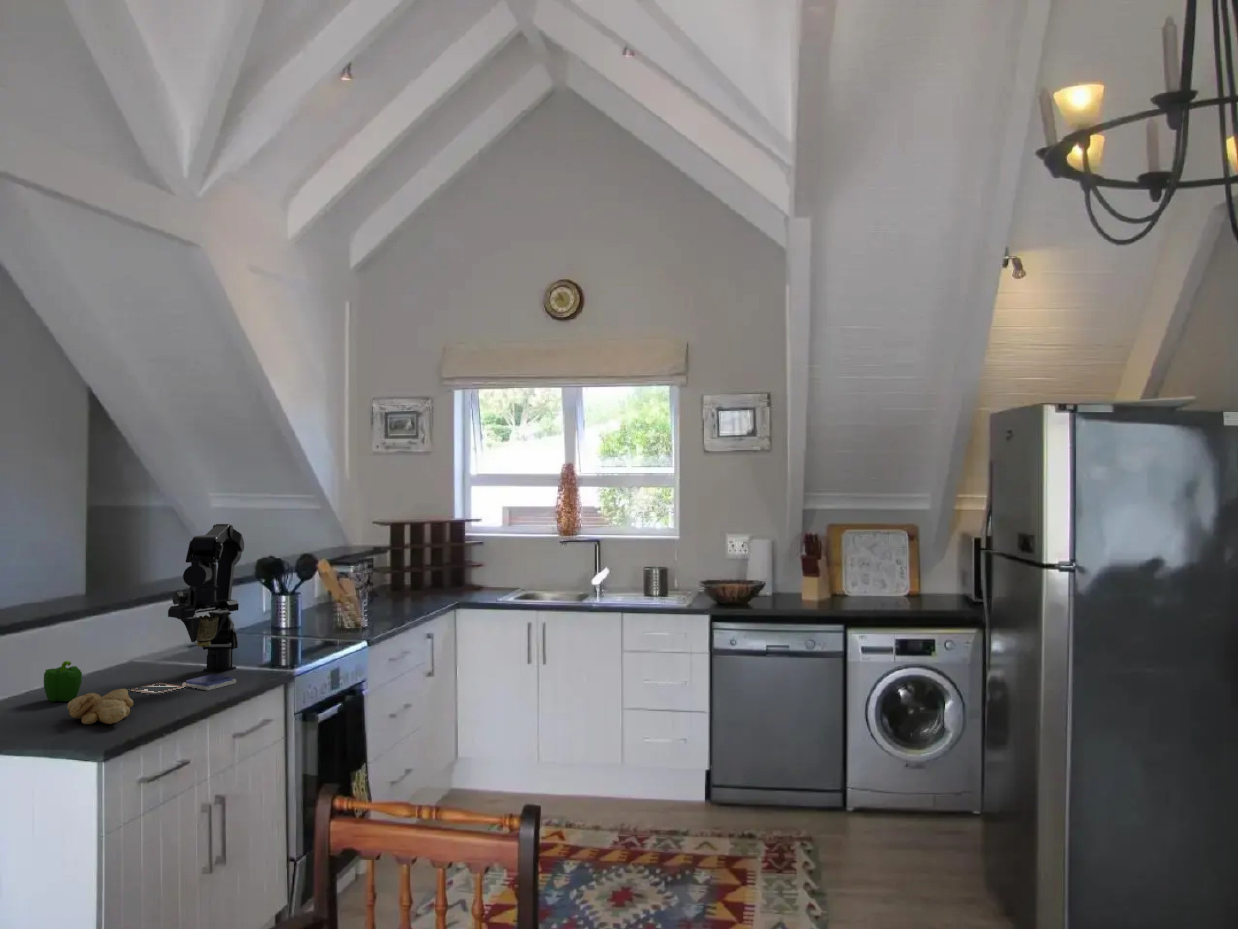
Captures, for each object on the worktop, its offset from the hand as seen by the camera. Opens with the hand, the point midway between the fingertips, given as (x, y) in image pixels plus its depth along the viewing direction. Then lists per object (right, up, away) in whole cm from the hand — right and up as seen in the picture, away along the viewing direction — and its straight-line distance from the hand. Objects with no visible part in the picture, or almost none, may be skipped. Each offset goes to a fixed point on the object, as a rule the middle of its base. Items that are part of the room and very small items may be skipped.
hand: (203, 640), depth 258 cm
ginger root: (-8, -12, -37) cm, 40 cm away
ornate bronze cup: (0, -2, 0) cm, 2 cm away
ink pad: (+2, -12, -1) cm, 12 cm away
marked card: (-9, -12, -7) cm, 16 cm away
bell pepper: (-27, -12, -20) cm, 35 cm away
